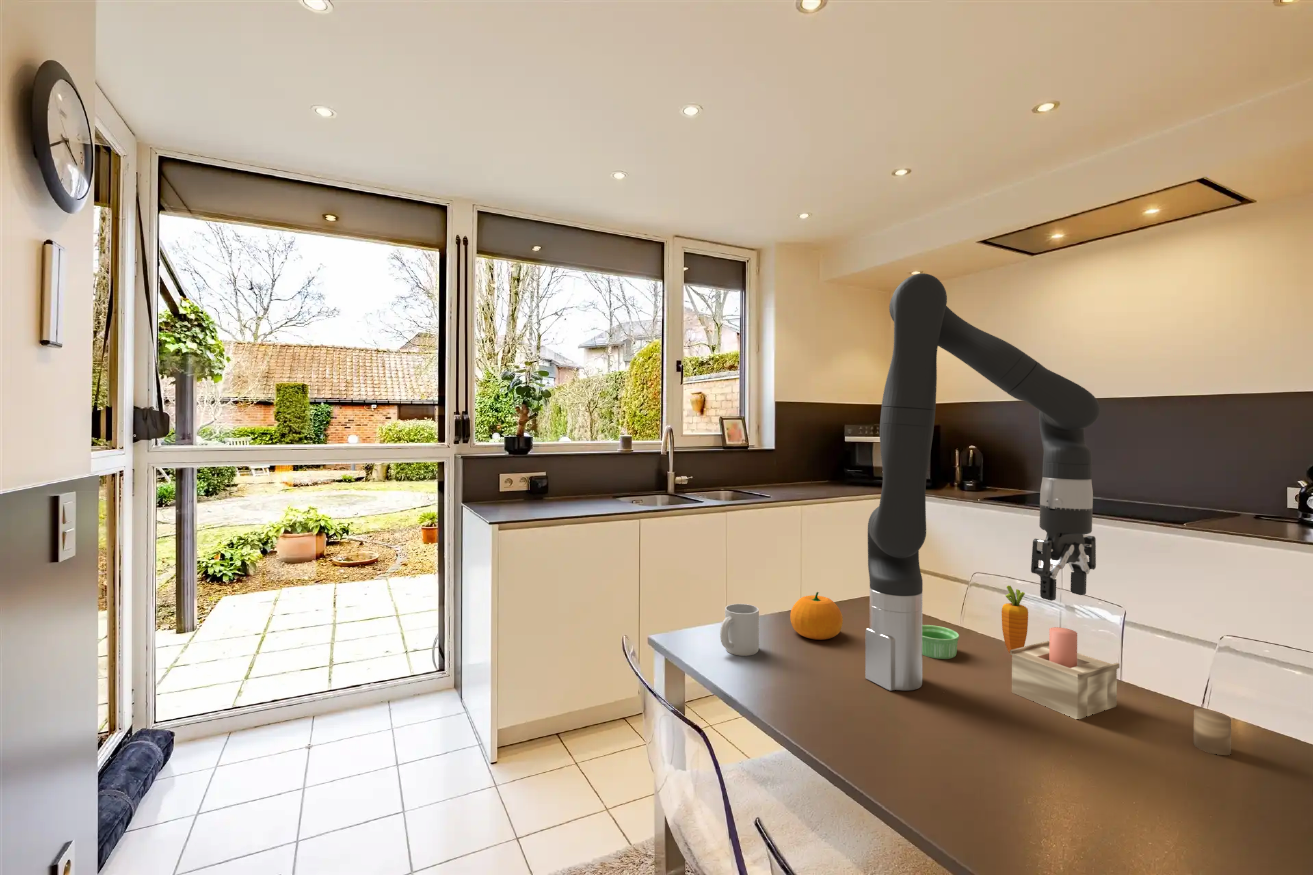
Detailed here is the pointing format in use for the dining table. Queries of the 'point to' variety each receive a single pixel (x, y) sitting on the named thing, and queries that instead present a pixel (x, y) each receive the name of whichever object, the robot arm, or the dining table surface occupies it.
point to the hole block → (1064, 681)
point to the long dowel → (1063, 646)
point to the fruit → (816, 617)
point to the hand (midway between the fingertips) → (1063, 596)
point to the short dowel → (1212, 731)
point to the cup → (740, 629)
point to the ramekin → (939, 642)
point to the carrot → (1014, 621)
